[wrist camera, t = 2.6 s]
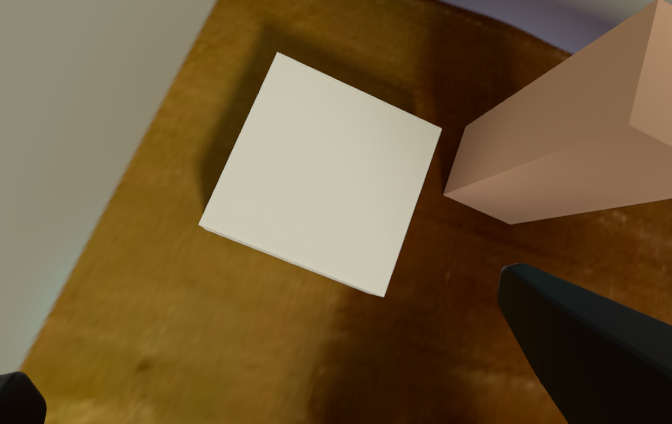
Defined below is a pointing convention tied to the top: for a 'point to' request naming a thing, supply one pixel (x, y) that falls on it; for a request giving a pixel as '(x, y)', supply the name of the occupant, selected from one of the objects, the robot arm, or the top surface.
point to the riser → (323, 177)
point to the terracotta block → (578, 131)
